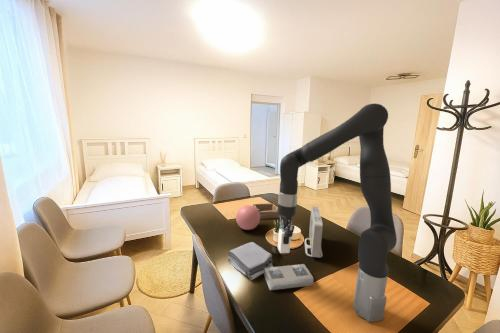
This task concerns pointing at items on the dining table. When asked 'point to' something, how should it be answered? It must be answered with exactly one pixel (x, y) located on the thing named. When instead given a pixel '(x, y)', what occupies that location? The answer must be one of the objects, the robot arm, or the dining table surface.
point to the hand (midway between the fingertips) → (284, 240)
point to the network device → (315, 233)
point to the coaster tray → (267, 213)
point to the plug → (281, 246)
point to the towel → (250, 259)
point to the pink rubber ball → (248, 217)
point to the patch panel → (288, 277)
